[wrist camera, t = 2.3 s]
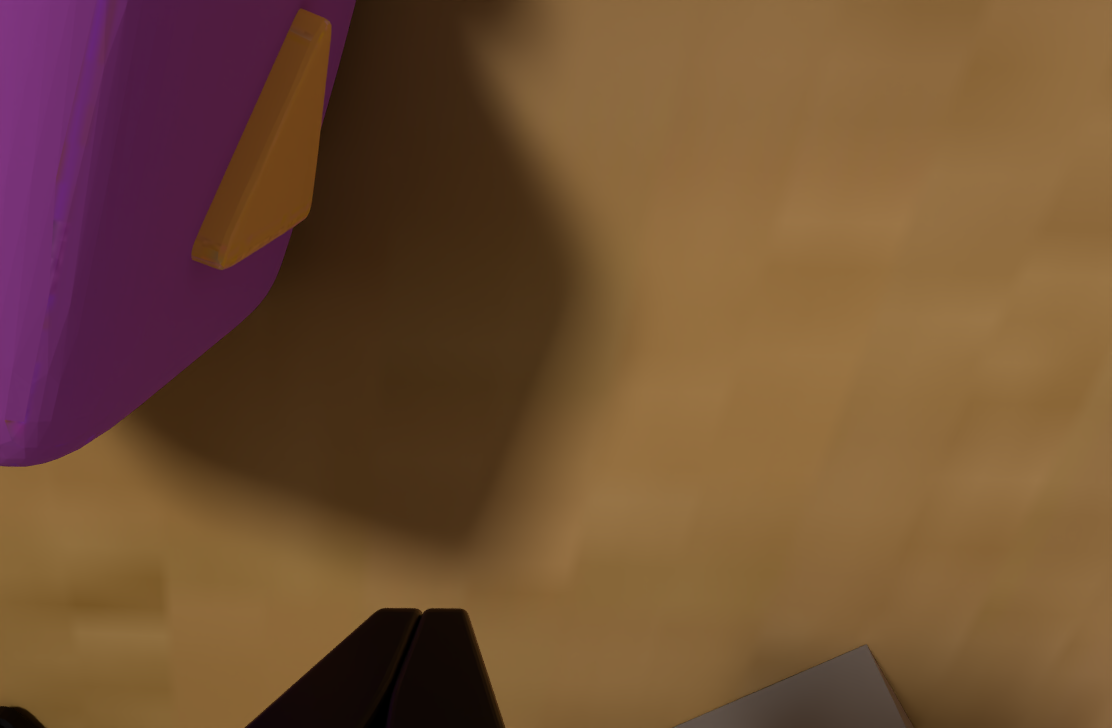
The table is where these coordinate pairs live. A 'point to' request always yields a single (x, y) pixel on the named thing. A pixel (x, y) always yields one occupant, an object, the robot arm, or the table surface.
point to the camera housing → (817, 700)
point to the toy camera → (144, 192)
